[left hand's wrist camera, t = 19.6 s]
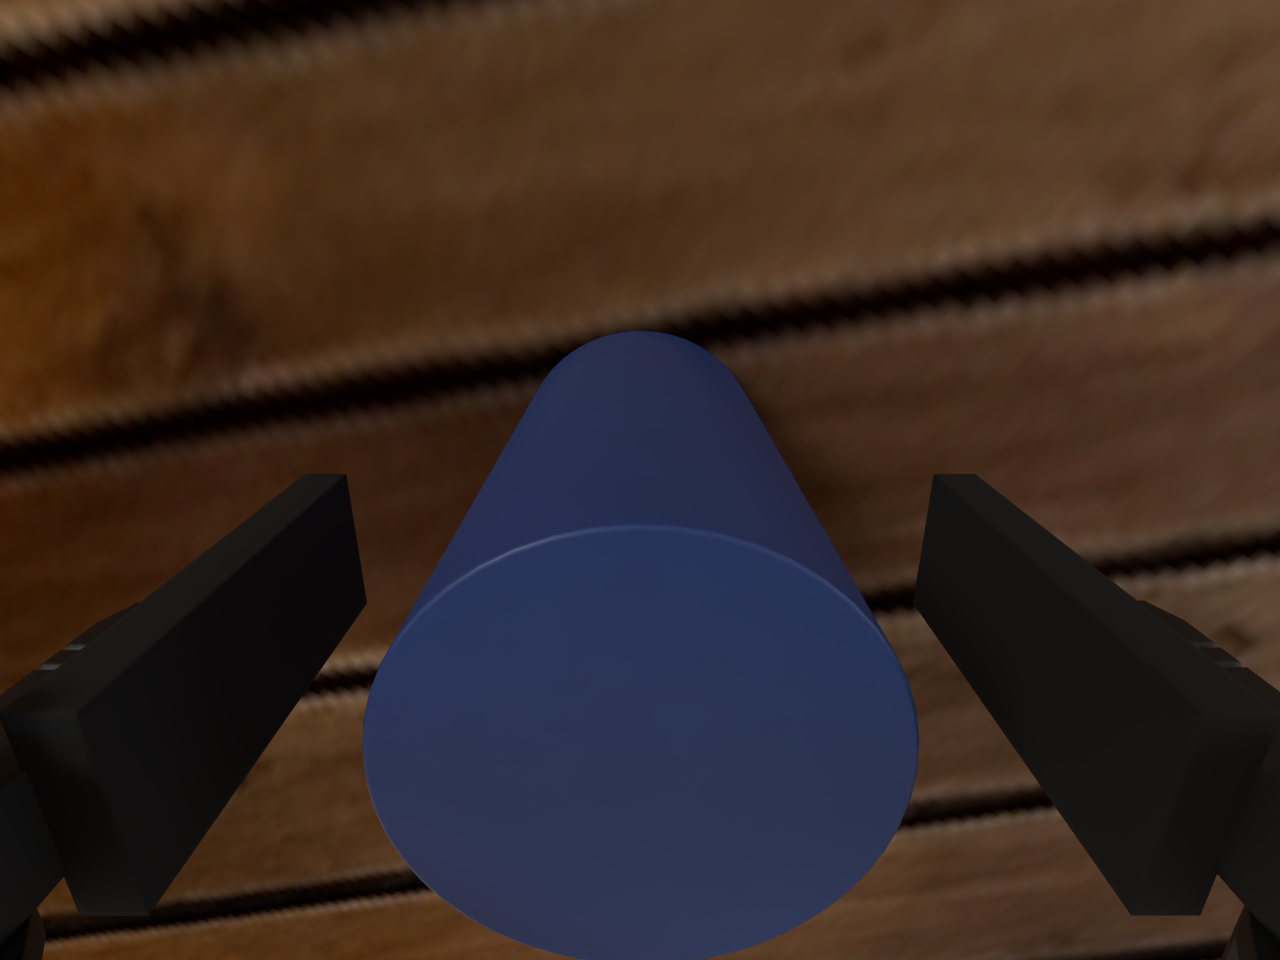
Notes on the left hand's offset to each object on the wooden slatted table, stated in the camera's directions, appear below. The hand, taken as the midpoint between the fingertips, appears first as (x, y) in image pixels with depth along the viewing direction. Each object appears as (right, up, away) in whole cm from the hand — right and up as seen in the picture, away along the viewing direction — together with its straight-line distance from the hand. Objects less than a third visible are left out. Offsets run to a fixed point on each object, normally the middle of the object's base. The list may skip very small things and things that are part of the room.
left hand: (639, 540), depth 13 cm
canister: (0, +2, +5) cm, 6 cm away
